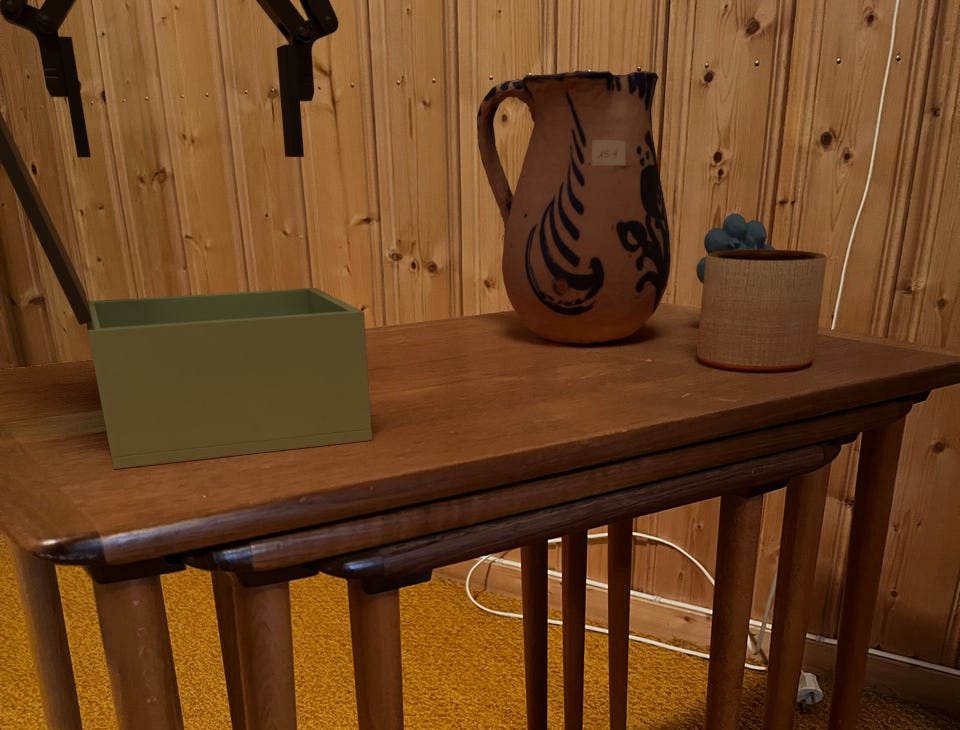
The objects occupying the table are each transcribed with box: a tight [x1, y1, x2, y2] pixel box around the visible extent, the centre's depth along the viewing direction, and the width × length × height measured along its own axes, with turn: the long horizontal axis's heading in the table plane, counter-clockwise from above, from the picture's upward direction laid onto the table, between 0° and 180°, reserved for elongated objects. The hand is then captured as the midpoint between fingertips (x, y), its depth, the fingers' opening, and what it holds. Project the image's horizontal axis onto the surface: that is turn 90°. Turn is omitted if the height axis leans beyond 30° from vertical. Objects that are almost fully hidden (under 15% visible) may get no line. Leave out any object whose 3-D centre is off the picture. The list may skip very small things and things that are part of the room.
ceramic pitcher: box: [476, 70, 672, 345], centre depth 101 cm, size 18×21×25 cm
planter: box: [696, 249, 828, 373], centre depth 91 cm, size 11×11×10 cm
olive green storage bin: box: [85, 287, 373, 470], centre depth 71 cm, size 18×15×9 cm
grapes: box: [696, 212, 776, 285], centre depth 108 cm, size 12×7×12 cm, turn 120°
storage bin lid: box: [0, 110, 92, 326], centre depth 61 cm, size 18×15×1 cm
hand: (192, 157), depth 65 cm, fingers open, 13 cm apart
